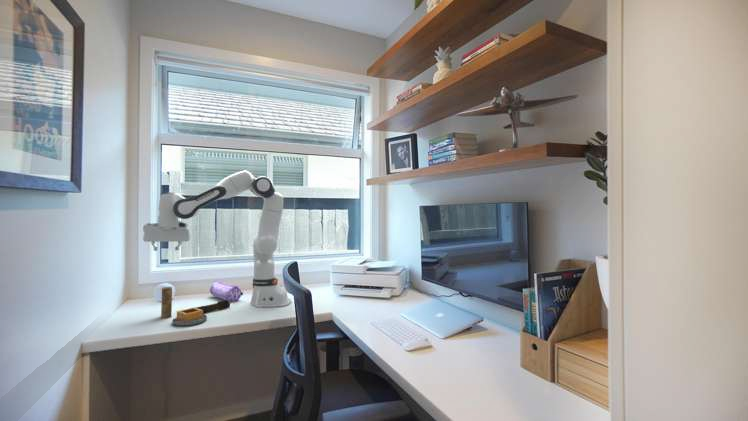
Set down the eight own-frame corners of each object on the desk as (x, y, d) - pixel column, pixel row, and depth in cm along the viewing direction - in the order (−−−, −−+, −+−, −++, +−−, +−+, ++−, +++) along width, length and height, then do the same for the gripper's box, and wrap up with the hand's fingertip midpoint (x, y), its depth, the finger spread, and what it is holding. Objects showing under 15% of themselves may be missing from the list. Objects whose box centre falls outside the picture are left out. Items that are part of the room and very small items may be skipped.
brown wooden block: (170, 314, 161) (171, 286, 161) (171, 317, 158) (172, 288, 158) (161, 316, 159) (161, 287, 159) (161, 318, 155) (162, 289, 156)
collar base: (197, 315, 161) (197, 305, 161) (212, 320, 154) (212, 310, 154) (166, 322, 150) (166, 311, 150) (181, 328, 142) (181, 317, 142)
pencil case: (243, 300, 190) (243, 284, 190) (228, 304, 183) (228, 287, 183) (222, 294, 203) (222, 279, 203) (207, 297, 195) (207, 281, 195)
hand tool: (193, 316, 160) (193, 307, 160) (190, 314, 163) (190, 305, 163) (231, 308, 174) (232, 300, 174) (228, 307, 177) (228, 298, 177)
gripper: (144, 223, 159) (142, 251, 159) (191, 224, 173) (189, 250, 172) (142, 222, 164) (141, 250, 164) (188, 223, 177) (187, 249, 177)
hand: (166, 250), depth 168 cm, fingers open, 8 cm apart
